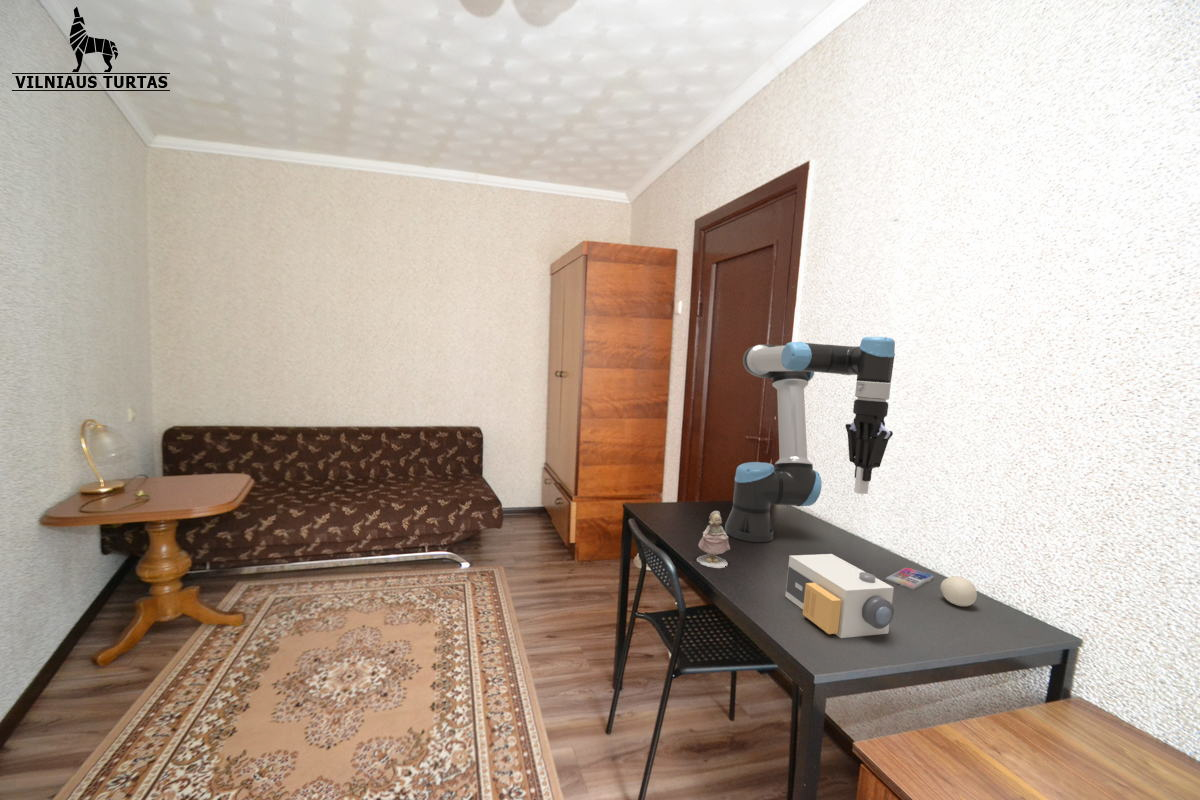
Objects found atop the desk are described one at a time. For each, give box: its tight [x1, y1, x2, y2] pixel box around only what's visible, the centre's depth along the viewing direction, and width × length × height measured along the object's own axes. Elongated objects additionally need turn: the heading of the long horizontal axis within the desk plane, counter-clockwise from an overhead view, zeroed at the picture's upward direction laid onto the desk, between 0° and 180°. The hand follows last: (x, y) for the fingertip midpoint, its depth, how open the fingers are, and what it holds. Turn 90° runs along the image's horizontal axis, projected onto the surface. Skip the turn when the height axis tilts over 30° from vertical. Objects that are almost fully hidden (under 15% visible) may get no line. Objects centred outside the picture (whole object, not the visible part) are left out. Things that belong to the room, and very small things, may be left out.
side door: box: [802, 583, 841, 635], centre depth 104 cm, size 8×2×7 cm, turn 16°
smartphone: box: [884, 567, 935, 590], centre depth 134 cm, size 7×1×15 cm
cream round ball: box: [940, 576, 978, 607], centre depth 120 cm, size 7×7×7 cm
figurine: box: [689, 510, 731, 569], centre depth 136 cm, size 11×10×15 cm
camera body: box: [785, 553, 895, 639], centre depth 109 cm, size 21×12×11 cm, turn 16°
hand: (860, 492), depth 125 cm, fingers closed
